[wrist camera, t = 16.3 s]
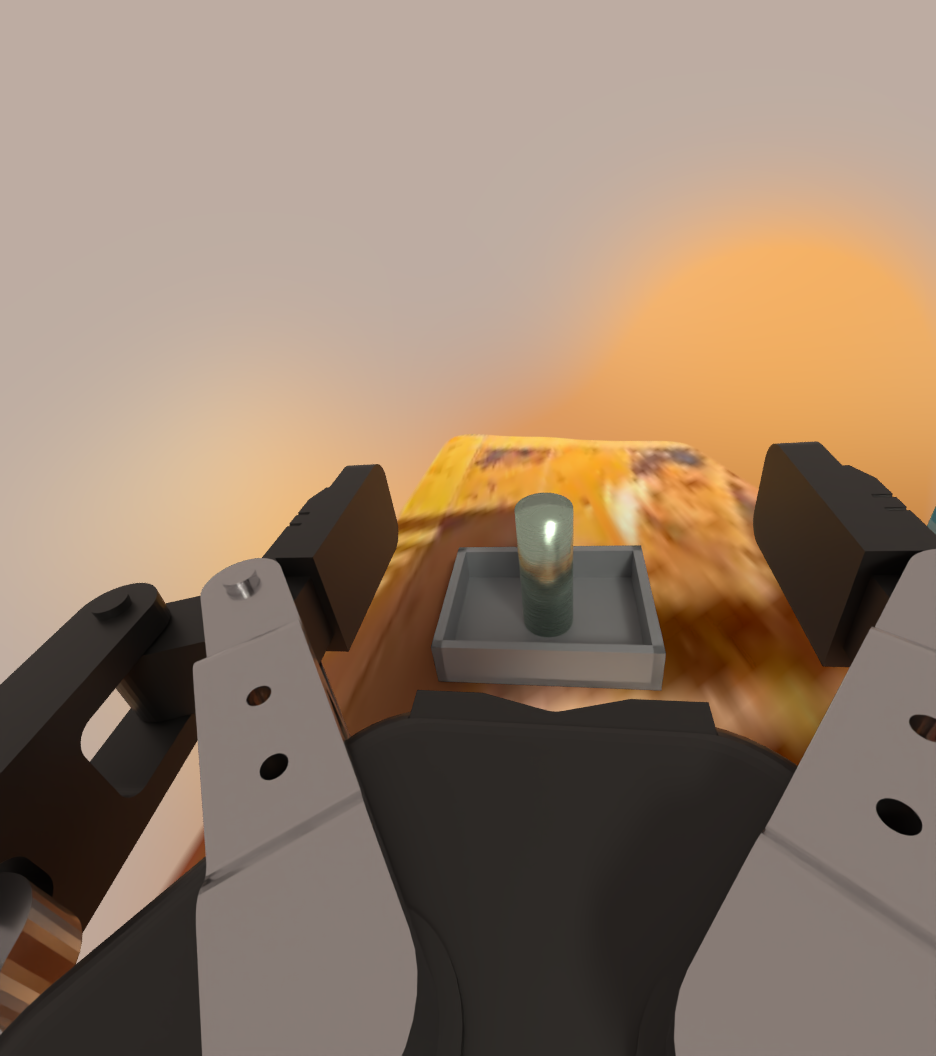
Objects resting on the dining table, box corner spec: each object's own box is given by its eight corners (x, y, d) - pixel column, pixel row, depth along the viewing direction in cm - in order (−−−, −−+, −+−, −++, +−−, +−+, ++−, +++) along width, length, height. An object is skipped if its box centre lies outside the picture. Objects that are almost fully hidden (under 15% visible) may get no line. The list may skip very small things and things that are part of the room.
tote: (638, 578, 50) (640, 545, 48) (661, 690, 39) (665, 653, 36) (464, 578, 53) (459, 547, 51) (438, 681, 42) (430, 647, 40)
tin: (570, 600, 47) (570, 491, 40) (575, 636, 43) (575, 523, 36) (523, 602, 47) (514, 494, 40) (524, 637, 44) (514, 526, 37)
